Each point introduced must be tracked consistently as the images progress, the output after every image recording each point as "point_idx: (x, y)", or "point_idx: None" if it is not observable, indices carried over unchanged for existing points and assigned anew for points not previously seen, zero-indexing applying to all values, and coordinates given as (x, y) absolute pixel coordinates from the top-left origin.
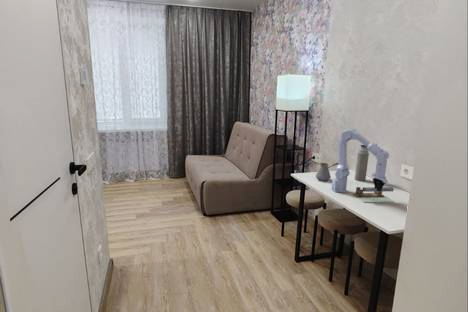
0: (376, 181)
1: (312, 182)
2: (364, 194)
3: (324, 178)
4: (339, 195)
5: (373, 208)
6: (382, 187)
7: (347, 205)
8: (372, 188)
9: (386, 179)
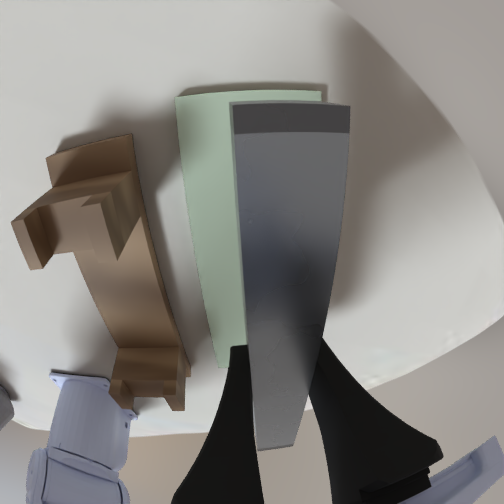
0: (335, 496)
1: (50, 423)
2: (142, 327)
3: (8, 407)
4: (182, 414)
5: (393, 324)
6: (354, 378)
7: None
8: (295, 419)
9: (489, 487)
